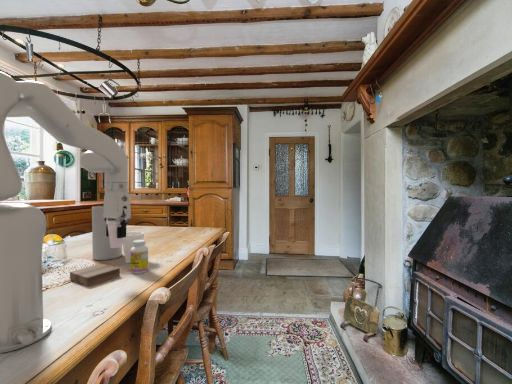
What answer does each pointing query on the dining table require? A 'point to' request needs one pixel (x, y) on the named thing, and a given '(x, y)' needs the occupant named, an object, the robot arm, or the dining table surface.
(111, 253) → the cylinder vase
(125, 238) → the foam cup
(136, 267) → the supplement bottle
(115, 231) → the smoothie
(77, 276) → the plinth
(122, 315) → the dining table surface
